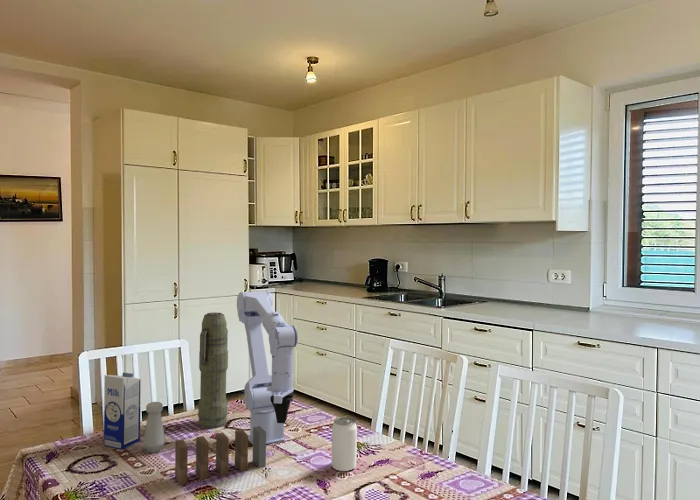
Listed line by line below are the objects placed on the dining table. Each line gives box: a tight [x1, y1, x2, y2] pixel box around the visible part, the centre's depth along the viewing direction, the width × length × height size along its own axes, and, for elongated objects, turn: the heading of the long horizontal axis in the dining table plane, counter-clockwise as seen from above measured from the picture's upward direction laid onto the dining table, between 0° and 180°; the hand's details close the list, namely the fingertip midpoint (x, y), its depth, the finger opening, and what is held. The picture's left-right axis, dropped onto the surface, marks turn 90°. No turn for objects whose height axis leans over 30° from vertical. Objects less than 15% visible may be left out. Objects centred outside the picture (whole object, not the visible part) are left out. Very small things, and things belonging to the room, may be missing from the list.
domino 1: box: [174, 439, 189, 486], centre depth 124 cm, size 2×5×9 cm, turn 31°
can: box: [331, 416, 358, 472], centre depth 133 cm, size 6×6×12 cm
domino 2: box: [195, 435, 210, 482], centre depth 126 cm, size 2×5×9 cm, turn 31°
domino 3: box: [215, 432, 230, 477], centre depth 129 cm, size 2×5×9 cm, turn 31°
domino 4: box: [234, 429, 249, 473], centre depth 131 cm, size 2×5×9 cm, turn 30°
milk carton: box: [103, 372, 142, 450], centre depth 146 cm, size 7×7×20 cm
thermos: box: [197, 312, 229, 429], centre depth 163 cm, size 9×12×35 cm
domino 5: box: [252, 426, 267, 469], centre depth 134 cm, size 2×5×9 cm, turn 31°
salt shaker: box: [142, 401, 166, 454], centre depth 141 cm, size 6×6×13 cm
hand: (281, 422), depth 137 cm, fingers closed
